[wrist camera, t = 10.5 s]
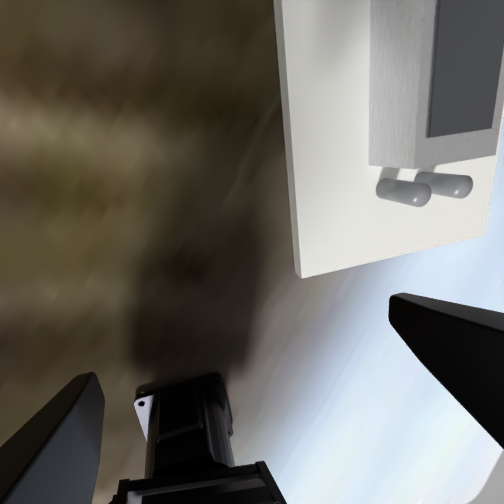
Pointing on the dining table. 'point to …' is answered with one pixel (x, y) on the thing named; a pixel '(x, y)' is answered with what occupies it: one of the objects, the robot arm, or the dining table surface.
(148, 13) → the dining table surface
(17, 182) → the dining table surface
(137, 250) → the dining table surface
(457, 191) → the white peg board
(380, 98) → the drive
